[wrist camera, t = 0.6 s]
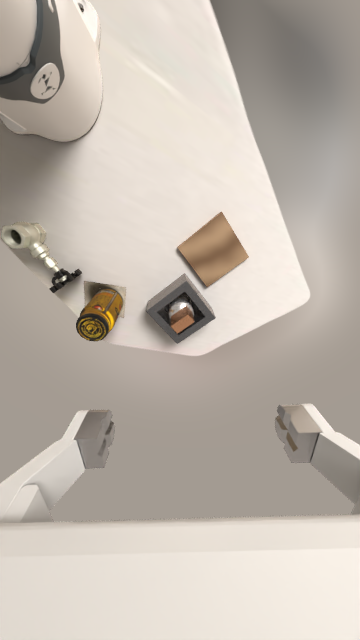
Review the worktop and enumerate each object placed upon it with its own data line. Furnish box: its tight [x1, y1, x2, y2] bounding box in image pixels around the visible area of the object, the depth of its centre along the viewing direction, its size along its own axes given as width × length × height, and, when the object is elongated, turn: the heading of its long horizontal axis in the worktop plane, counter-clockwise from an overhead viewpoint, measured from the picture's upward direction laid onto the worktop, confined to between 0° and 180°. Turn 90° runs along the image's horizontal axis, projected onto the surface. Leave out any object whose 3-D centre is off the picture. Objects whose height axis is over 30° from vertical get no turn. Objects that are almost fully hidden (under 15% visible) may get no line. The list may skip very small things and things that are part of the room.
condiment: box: [76, 281, 126, 341], centre depth 40 cm, size 7×8×12 cm
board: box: [178, 212, 249, 287], centre depth 41 cm, size 10×10×1 cm
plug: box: [169, 294, 194, 334], centre depth 43 cm, size 5×5×9 cm
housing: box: [146, 274, 216, 344], centre depth 45 cm, size 10×10×5 cm
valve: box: [1, 222, 82, 293], centre depth 38 cm, size 7×7×12 cm
